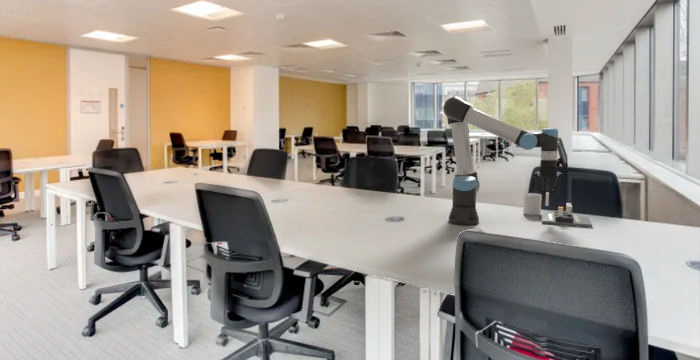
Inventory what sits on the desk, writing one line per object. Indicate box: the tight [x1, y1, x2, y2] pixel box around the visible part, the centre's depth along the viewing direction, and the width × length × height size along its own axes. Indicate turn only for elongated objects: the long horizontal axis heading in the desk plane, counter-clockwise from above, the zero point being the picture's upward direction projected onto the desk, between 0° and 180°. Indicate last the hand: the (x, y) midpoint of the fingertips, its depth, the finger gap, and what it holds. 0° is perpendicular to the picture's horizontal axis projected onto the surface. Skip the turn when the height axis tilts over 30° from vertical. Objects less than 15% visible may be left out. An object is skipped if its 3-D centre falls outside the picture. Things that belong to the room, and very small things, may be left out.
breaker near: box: [557, 206, 564, 217], centre depth 209 cm, size 2×3×4 cm
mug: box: [522, 192, 543, 216], centre depth 232 cm, size 12×9×11 cm
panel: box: [541, 210, 593, 229], centre depth 213 cm, size 22×18×4 cm
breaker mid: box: [567, 204, 573, 215], centre depth 213 cm, size 2×3×4 cm
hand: (546, 205), depth 211 cm, fingers closed
